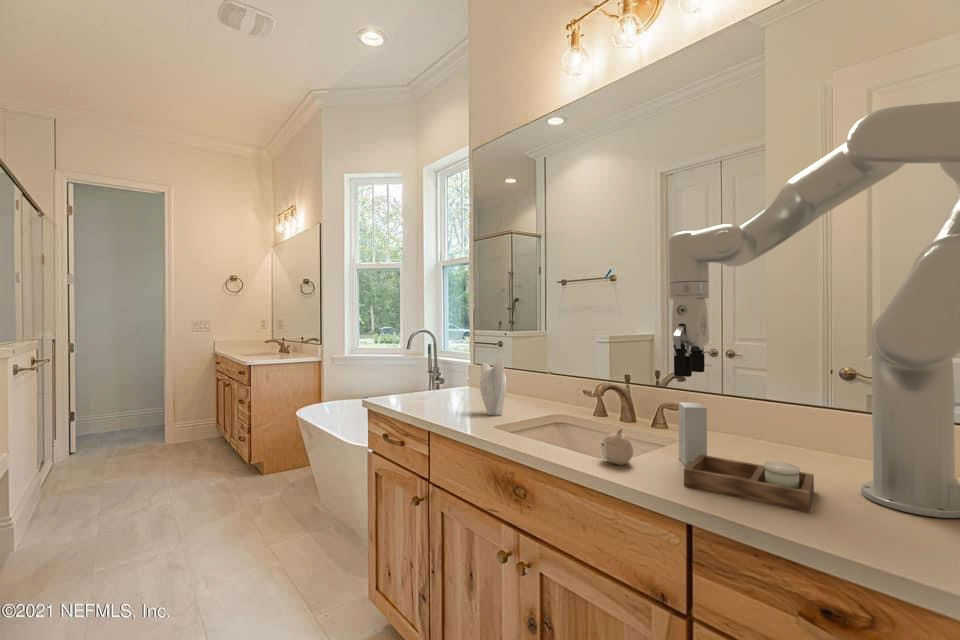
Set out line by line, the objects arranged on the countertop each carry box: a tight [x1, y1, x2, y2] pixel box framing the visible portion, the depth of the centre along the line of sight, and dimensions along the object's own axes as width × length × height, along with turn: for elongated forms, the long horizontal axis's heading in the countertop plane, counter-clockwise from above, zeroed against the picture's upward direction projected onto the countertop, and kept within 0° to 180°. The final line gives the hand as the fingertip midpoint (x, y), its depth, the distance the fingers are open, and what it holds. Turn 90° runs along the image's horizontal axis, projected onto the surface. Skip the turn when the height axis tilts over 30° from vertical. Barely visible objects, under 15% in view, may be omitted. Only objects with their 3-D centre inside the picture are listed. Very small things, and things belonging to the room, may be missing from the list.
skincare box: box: [678, 401, 708, 467], centre depth 93 cm, size 6×4×12 cm
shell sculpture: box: [479, 358, 507, 417], centre depth 143 cm, size 8×8×18 cm
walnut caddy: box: [683, 455, 815, 513], centre depth 79 cm, size 18×11×3 cm, turn 50°
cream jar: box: [763, 461, 801, 489], centre depth 76 cm, size 5×5×4 cm
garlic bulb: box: [600, 428, 634, 466], centre depth 94 cm, size 7×6×8 cm
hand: (689, 373), depth 94 cm, fingers open, 9 cm apart
